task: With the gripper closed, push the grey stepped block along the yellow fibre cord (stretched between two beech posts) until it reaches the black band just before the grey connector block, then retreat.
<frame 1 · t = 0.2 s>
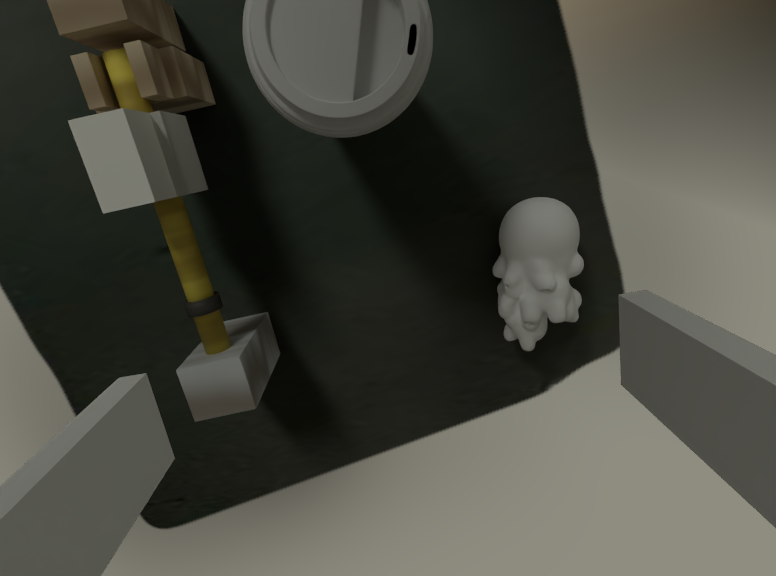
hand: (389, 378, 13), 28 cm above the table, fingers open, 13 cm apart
coffee cup: (348, 77, 37), on the table
grey stepped block: (143, 161, 30), point 9 cm above the table, slide at 0.0 cm
figurine: (524, 263, 42), on the table
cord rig: (208, 209, 39), on the table
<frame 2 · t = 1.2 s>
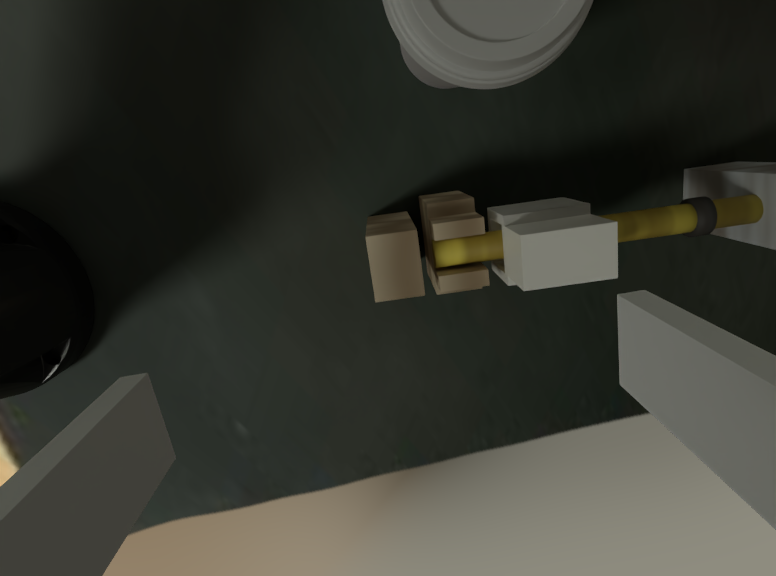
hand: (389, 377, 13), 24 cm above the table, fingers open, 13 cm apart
coffee cup: (446, 39, 33), on the table
grey stepped block: (545, 244, 29), point 9 cm above the table, slide at 0.0 cm
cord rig: (559, 216, 37), on the table
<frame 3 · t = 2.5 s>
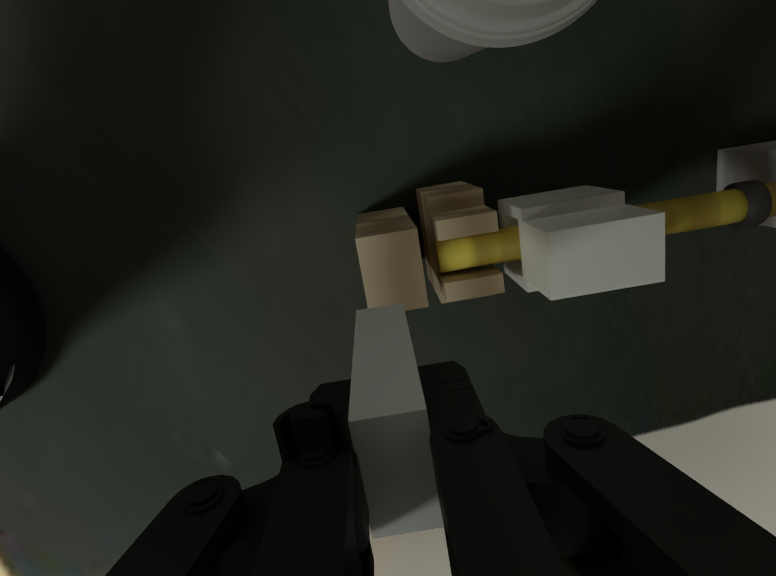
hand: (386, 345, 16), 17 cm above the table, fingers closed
coffee cup: (443, 3, 29), on the table
grey stepped block: (570, 241, 24), point 9 cm above the table, slide at 0.0 cm
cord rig: (576, 207, 32), on the table
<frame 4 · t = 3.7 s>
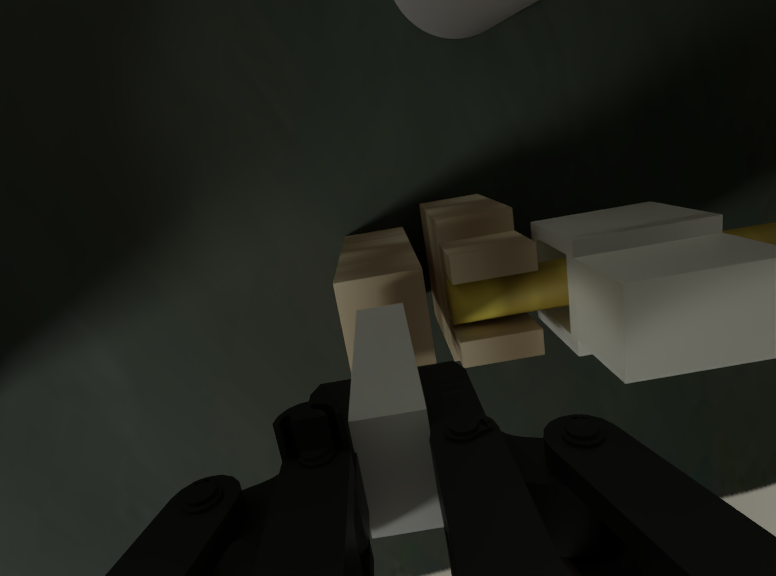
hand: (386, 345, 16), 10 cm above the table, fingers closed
grey stepped block: (640, 284, 17), point 9 cm above the table, slide at 0.0 cm
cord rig: (625, 226, 25), on the table
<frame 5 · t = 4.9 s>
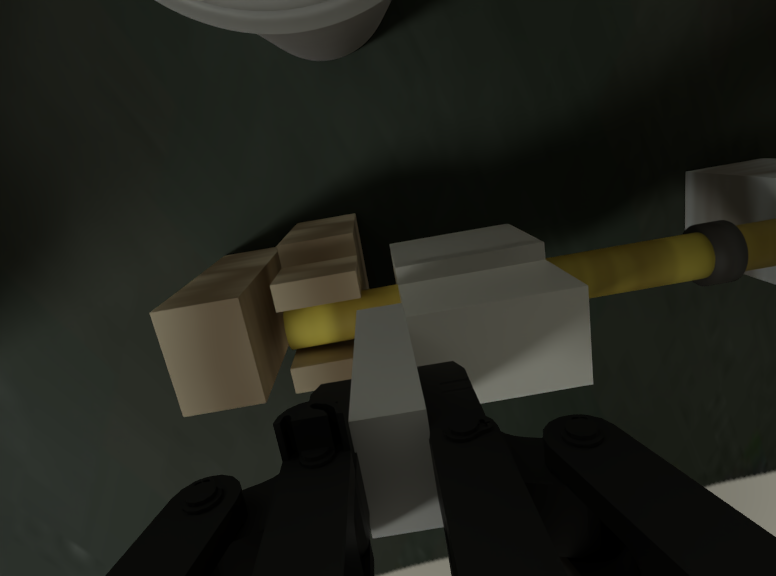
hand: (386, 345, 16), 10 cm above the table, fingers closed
grey stepped block: (473, 309, 17), point 9 cm above the table, slide at 0.4 cm, touching gripper
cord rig: (506, 245, 25), on the table
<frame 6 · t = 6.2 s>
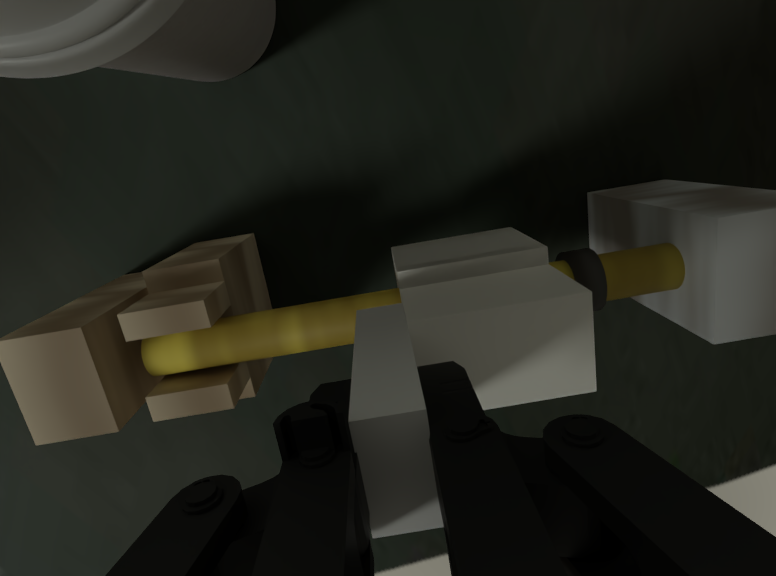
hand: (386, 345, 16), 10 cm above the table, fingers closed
coffee cup: (204, 4, 22), on the table
grey stepped block: (475, 314, 17), point 9 cm above the table, slide at 5.7 cm, touching gripper
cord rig: (408, 265, 25), on the table
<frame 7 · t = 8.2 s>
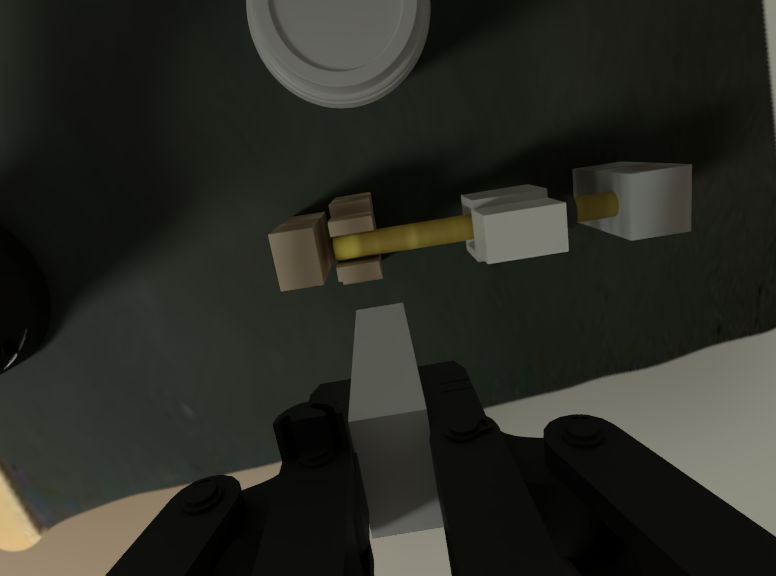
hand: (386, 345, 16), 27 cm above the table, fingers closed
coffee cup: (351, 58, 38), on the table
grey stepped block: (509, 224, 33), point 9 cm above the table, slide at 5.7 cm
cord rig: (462, 213, 41), on the table
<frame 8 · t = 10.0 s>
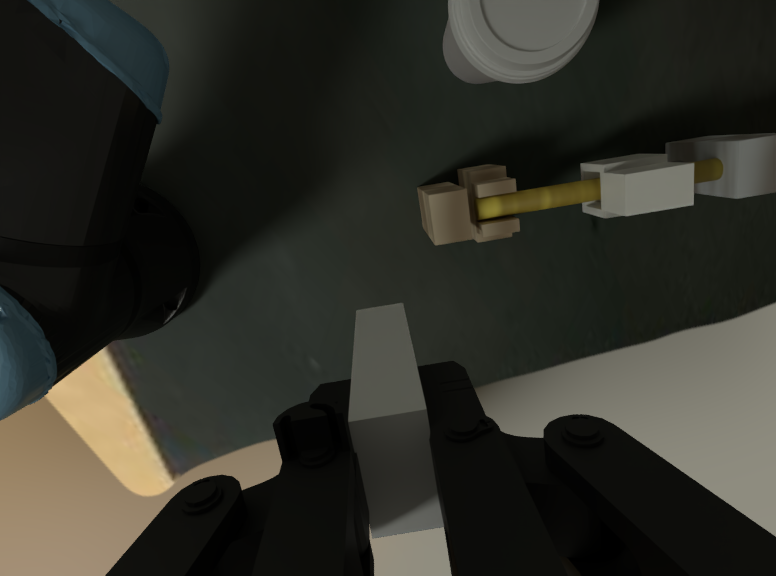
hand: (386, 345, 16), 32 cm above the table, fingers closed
coffee cup: (478, 45, 43), on the table
grey stepped block: (632, 186, 38), point 9 cm above the table, slide at 5.7 cm
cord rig: (568, 182, 47), on the table
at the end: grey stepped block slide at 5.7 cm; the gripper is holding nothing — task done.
